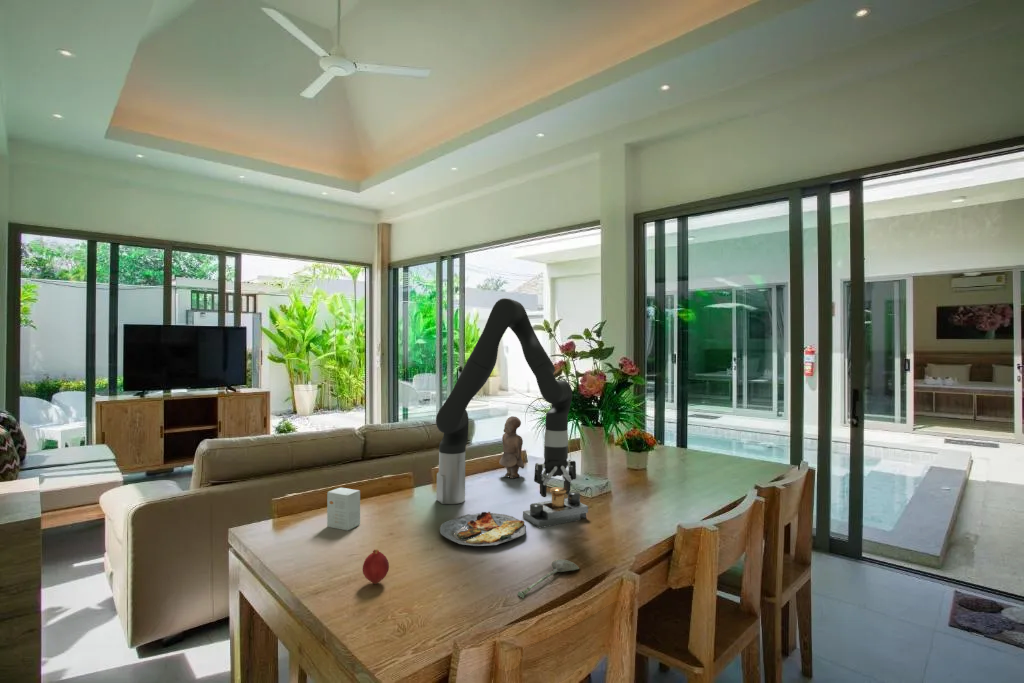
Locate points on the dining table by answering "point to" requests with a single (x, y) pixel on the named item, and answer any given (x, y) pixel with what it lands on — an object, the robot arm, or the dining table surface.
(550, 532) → the dining table surface
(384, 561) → the onion
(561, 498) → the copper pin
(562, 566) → the soupspoon
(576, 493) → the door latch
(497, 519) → the food plate
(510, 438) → the clay figurine
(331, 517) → the small box
